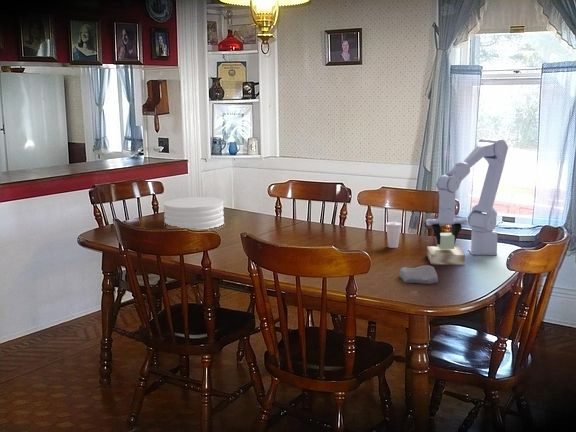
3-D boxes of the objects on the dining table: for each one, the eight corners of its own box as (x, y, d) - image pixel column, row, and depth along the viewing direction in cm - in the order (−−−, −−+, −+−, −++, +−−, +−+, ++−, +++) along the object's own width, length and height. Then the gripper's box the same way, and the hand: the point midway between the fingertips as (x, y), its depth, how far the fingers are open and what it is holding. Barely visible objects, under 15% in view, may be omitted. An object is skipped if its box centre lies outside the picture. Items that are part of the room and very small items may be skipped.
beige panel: (459, 256, 248) (459, 246, 248) (464, 265, 237) (464, 255, 236) (427, 256, 250) (427, 246, 249) (430, 265, 238) (431, 254, 237)
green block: (450, 245, 245) (451, 232, 244) (454, 249, 240) (454, 235, 239) (437, 245, 244) (437, 233, 243) (440, 249, 240) (441, 236, 239)
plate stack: (171, 219, 324) (170, 197, 322) (227, 219, 323) (226, 196, 320) (158, 232, 297) (157, 207, 294) (219, 232, 295) (218, 207, 293)
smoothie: (389, 249, 259) (389, 215, 257) (382, 245, 265) (383, 212, 263) (403, 248, 261) (404, 213, 258) (397, 244, 267) (397, 210, 264)
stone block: (440, 288, 216) (432, 274, 225) (440, 276, 214) (433, 262, 223) (404, 291, 216) (398, 276, 225) (405, 278, 214) (398, 264, 223)
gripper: (463, 205, 243) (462, 240, 246) (424, 206, 243) (424, 241, 246) (469, 209, 236) (467, 245, 239) (429, 209, 236) (428, 246, 239)
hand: (445, 243), depth 242 cm, fingers closed on green block, 5 cm apart
